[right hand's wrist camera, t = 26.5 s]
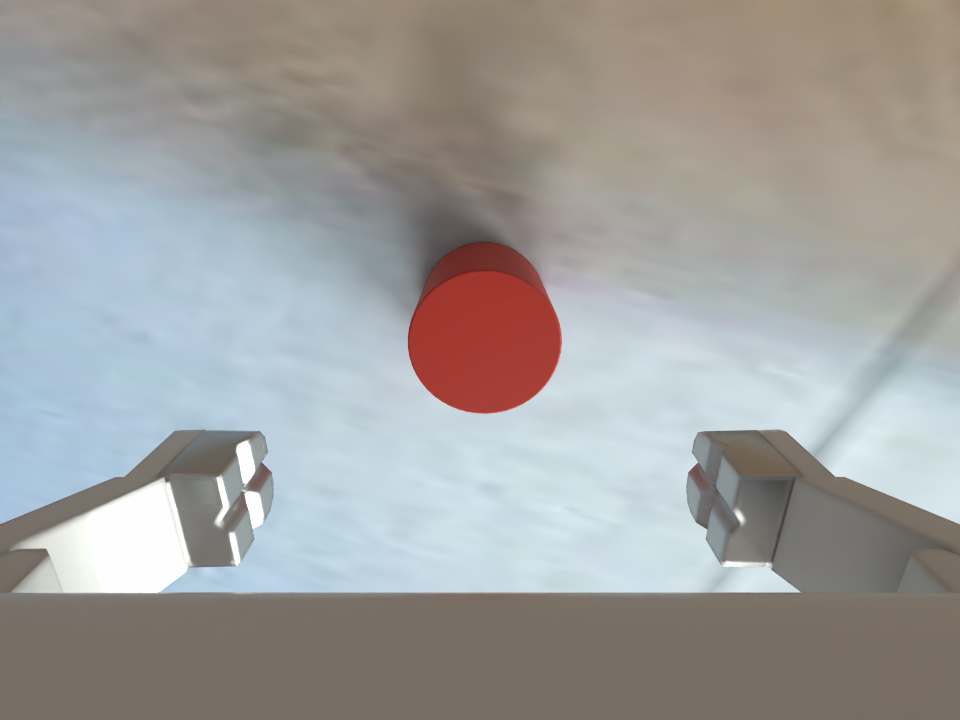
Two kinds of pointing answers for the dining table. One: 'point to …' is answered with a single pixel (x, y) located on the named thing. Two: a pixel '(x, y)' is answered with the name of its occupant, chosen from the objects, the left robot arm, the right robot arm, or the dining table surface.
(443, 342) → the can
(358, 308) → the dining table surface
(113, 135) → the dining table surface
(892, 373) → the dining table surface
